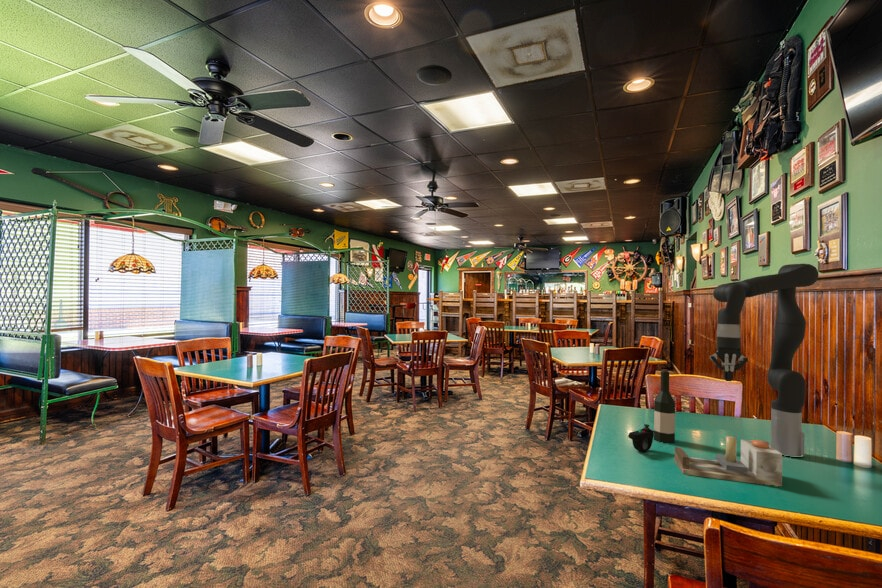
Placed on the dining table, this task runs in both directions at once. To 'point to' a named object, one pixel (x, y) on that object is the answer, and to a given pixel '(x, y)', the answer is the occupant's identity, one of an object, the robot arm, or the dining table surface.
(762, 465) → the rail board
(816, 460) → the dining table surface
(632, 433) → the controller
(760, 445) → the button
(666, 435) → the wine bottle
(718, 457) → the carriage
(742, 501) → the dining table surface
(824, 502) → the dining table surface
